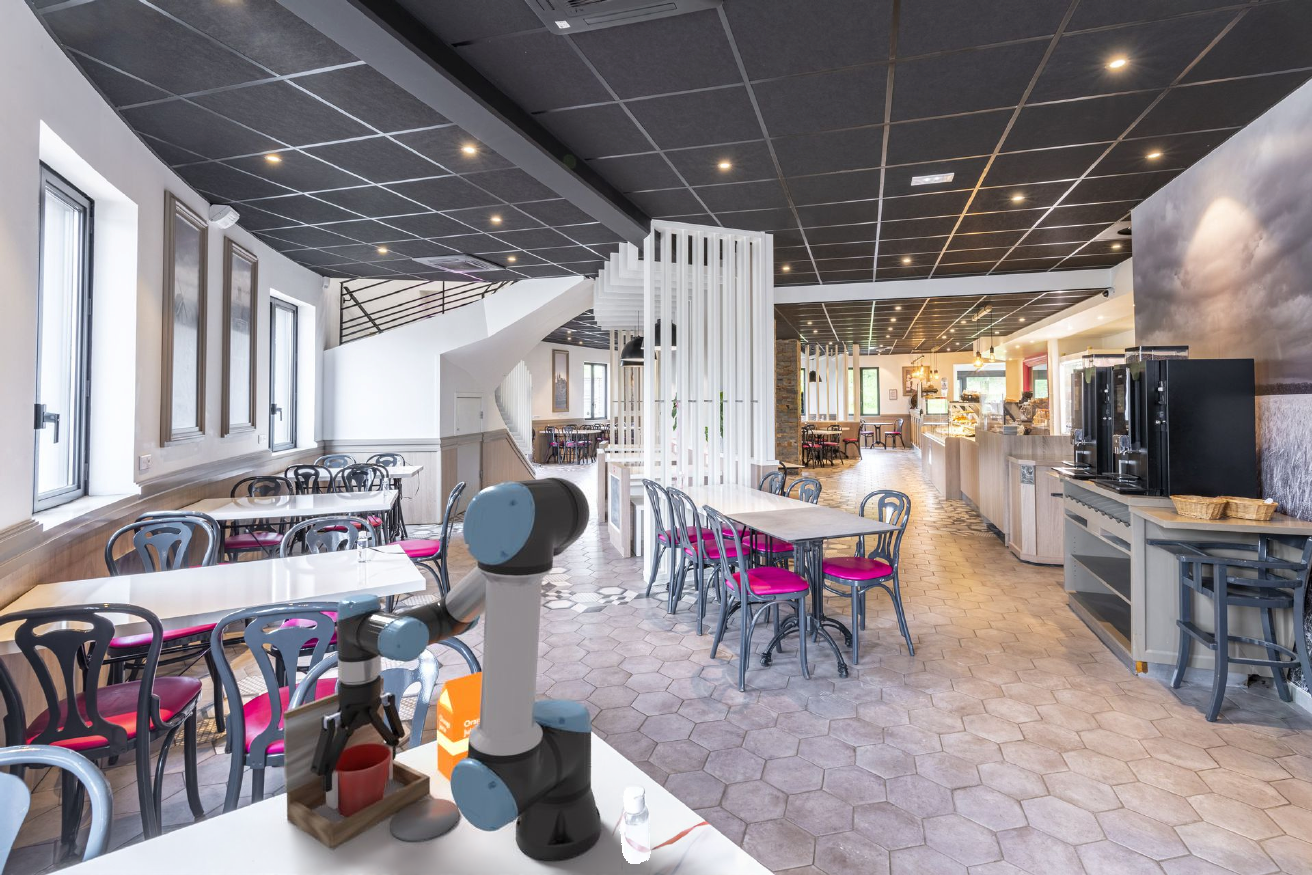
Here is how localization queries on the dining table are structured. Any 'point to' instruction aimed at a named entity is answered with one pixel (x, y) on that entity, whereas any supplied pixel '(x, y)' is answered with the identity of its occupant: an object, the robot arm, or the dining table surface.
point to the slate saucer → (424, 820)
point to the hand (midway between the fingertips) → (360, 790)
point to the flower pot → (361, 776)
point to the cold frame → (307, 786)
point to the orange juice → (456, 719)
